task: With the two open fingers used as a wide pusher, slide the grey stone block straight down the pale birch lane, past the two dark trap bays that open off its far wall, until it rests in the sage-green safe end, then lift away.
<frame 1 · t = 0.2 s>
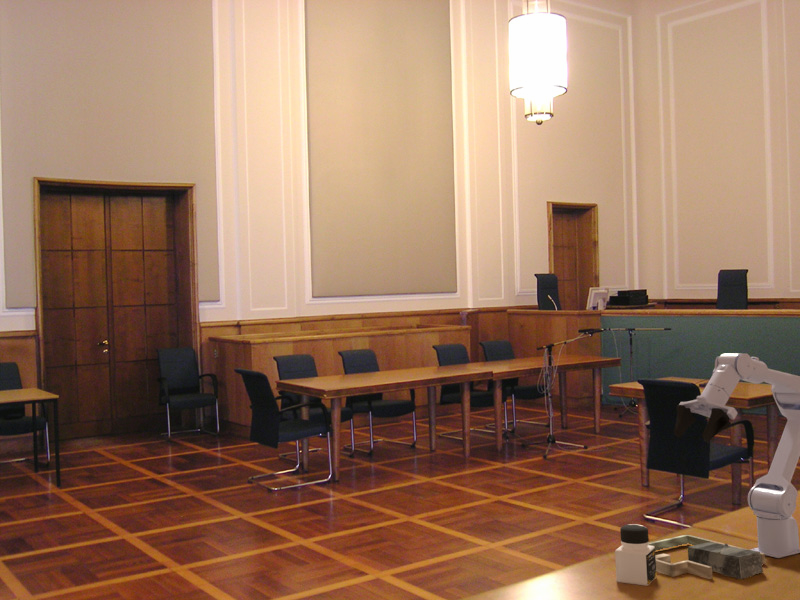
hand: (690, 437, 188), 31 cm above the table, tool tilted 45°, fingers open, 7 cm apart
stone block: (726, 571, 189), on the table
medicine bottle: (636, 580, 184), on the table
trap lane: (702, 561, 196), on the table
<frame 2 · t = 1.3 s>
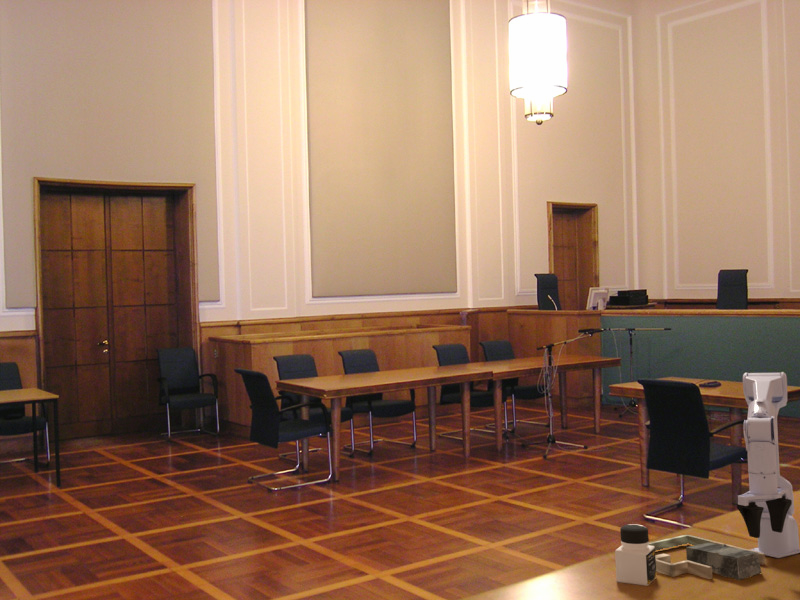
hand: (765, 534, 180), 10 cm above the table, tool pointing down, fingers open, 7 cm apart
nothing on the table moved.
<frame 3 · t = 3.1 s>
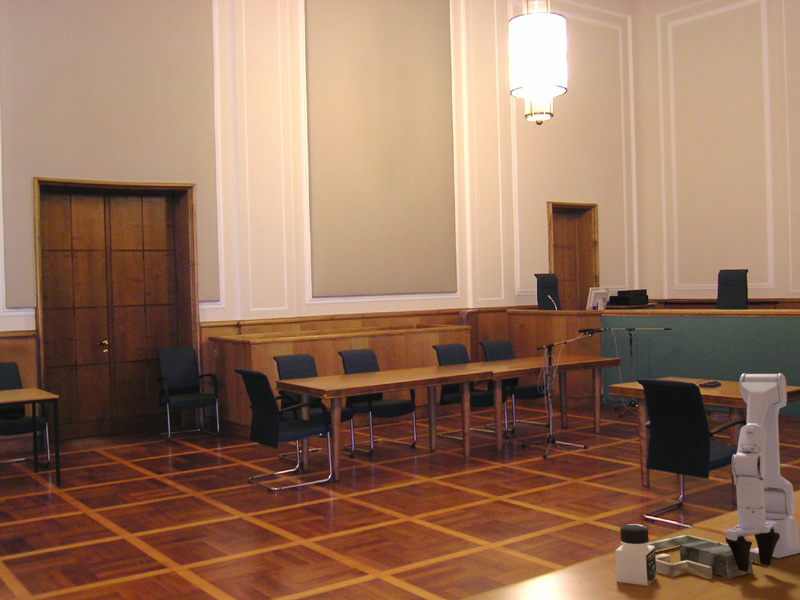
hand: (754, 567, 183), 2 cm above the table, tool pointing down, fingers open, 7 cm apart
stone block: (717, 569, 190), on the table
everything else where it was.
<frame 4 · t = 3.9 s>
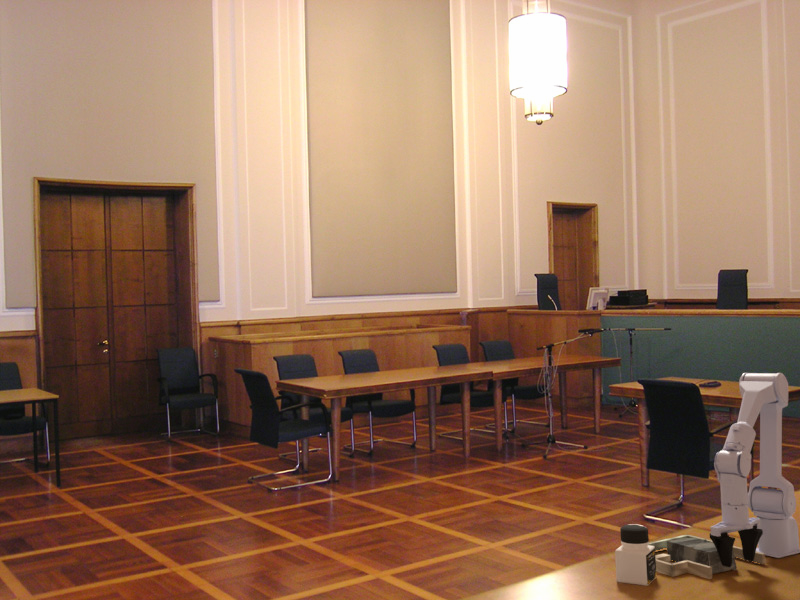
hand: (737, 563, 187), 2 cm above the table, tool pointing down, fingers open, 7 cm apart
stone block: (702, 566, 194), on the table, touching gripper
everything else where it was.
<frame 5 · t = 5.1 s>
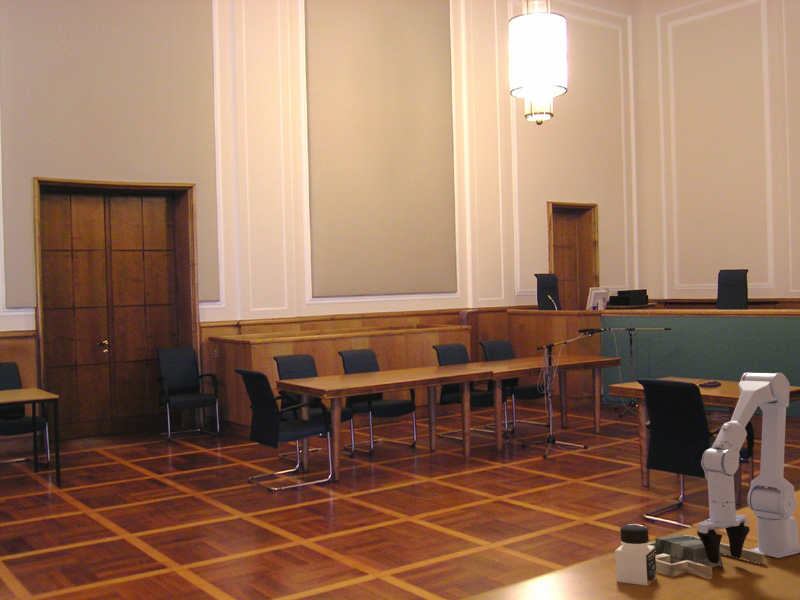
hand: (725, 559, 190), 2 cm above the table, tool pointing down, fingers open, 7 cm apart
stone block: (690, 562, 197), on the table, touching gripper
everything else where it was.
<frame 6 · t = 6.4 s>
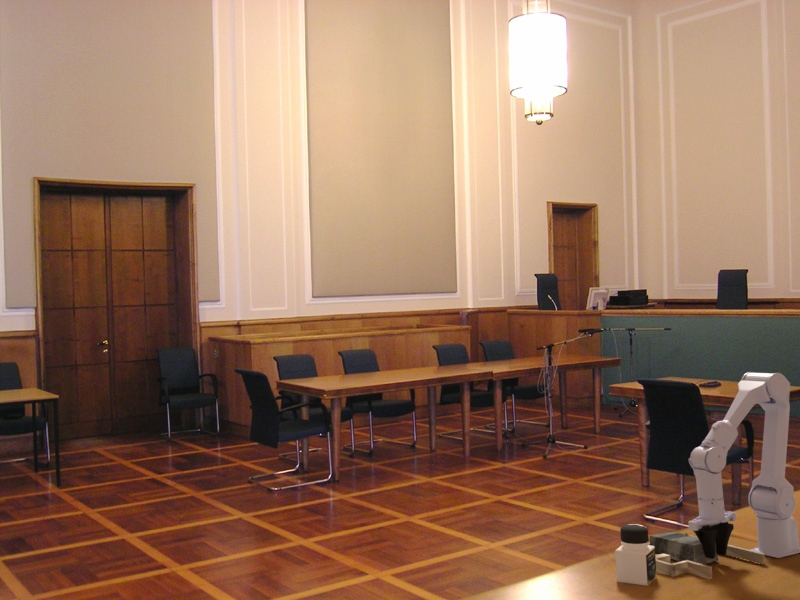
hand: (715, 556, 193), 2 cm above the table, tool pointing down, fingers closed on stone block, 3 cm apart
stone block: (685, 559, 200), on the table, touching gripper, trap lane
everything else where it was.
when the fingers open (2 cm above the table, at t = 6.9 s): stone block moves 1 cm, on the table.
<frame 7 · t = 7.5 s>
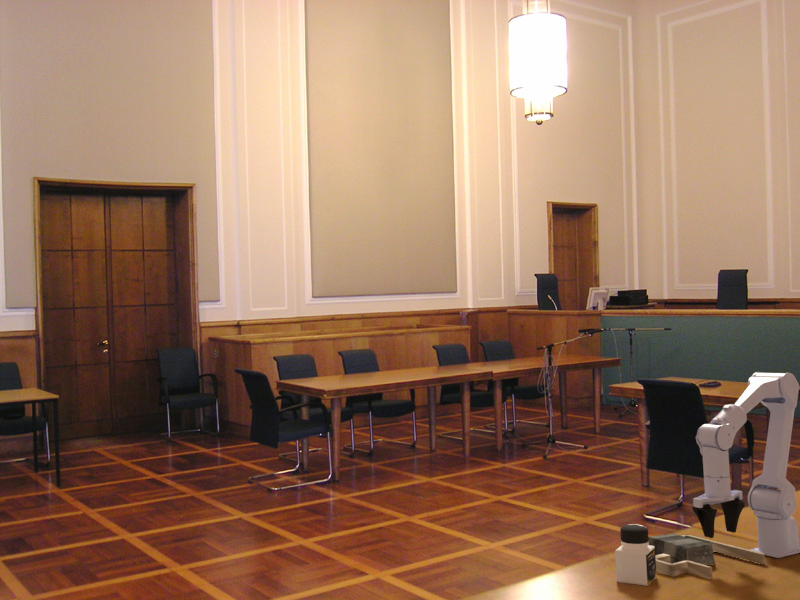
hand: (720, 534, 191), 8 cm above the table, tool pointing down, fingers open, 7 cm apart
stone block: (682, 561, 199), on the table
everything else where it was.
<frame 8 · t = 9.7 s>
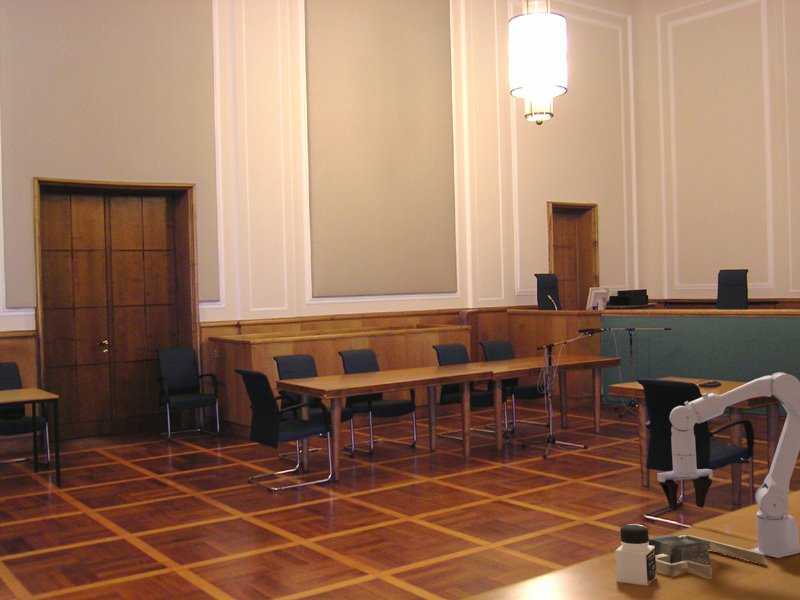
hand: (686, 508, 207), 10 cm above the table, tool pointing down, fingers open, 7 cm apart
stone block: (679, 562, 198), on the table
everything else where it was.
at the end: stone block inside the target area (3.6 cm from its centre), on the table; stone block tilted 0° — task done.
